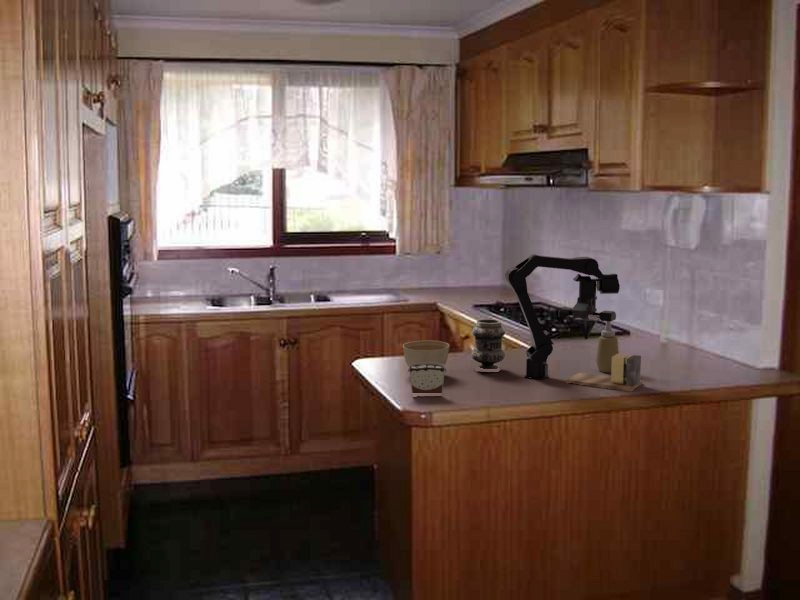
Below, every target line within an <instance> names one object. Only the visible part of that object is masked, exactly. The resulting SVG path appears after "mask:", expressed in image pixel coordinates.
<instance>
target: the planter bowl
mask: <svg viewBox="0 0 800 600" xmlns="http://www.w3.org/2000/svg"><path fill="white" fill-rule="evenodd" d="M402 349H403V355H404V359H405V363H406V365H407V367H408V368H409V366H410V365H411V364H414V363H421V362H433V363H440V364H443V365H445V366H446V364H447V361H448V358H449V353H450V352H449V351H450V344H449V343H448V342H446V341H445V342H443V341H440V340H416V341H410V342H406V343H403V345H402Z"/></svg>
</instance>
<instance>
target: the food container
mask: <svg viewBox="0 0 800 600" xmlns="http://www.w3.org/2000/svg"><path fill="white" fill-rule="evenodd" d="M407 373H409V379H410V388H411V394H412V393H442V394H443V391H444V380H445V373H448V371H447V368H446V364H445V365H443V364H440V363H433V362H421V363H414V364H411V365H410V366H409V367H408V369H407Z"/></svg>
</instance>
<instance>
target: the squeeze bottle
mask: <svg viewBox="0 0 800 600" xmlns="http://www.w3.org/2000/svg"><path fill="white" fill-rule="evenodd" d="M605 322H606V323H605V327H604V330H601V331H600V332H601V336H599V337H598V339H597V341H598V342H597V348H596V349H597V350H596V357H595V362H596V366H597V369H598V371H599V372H602V373H611V364H612V356H614V355H616V354H620V353H619V342H618V339H619V338H617V337H616V336H615V335H616V331H615V330H612V329H613V328H612V324H611V322H608V321H605Z"/></svg>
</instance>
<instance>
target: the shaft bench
mask: <svg viewBox="0 0 800 600" xmlns="http://www.w3.org/2000/svg"><path fill="white" fill-rule="evenodd" d="M641 366H642V355H640V354H639V355H637V354H633V355H631V356H629V358H628V359H627V364H626V365H625V368H624V377H625V378H626V382H625V383H624V384H619V383H611V375H602V374H593V373H587V372H585V373H584V372H577V373H576V374H574V375H572V376H570V377H569V378H567V379H566V380H565V384H568V383H573V384H572V385H576V384H579V385H578V386H583V385H587V386H586V387H591V386H593V388H599V387H601V389H606V388H608V389H607V390H614V389H615V390H616V391H623V392H633V391H634V390H636V389H637V388H638V387H640V386H642V385H643V379H641V370H642V369H641ZM635 388H636V389H635Z"/></svg>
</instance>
